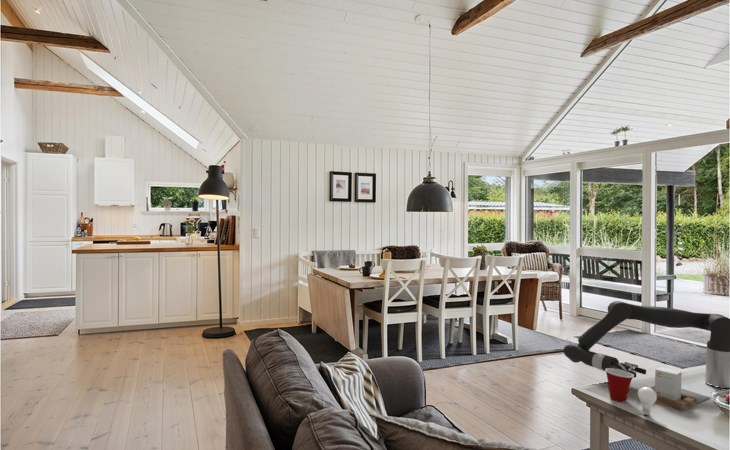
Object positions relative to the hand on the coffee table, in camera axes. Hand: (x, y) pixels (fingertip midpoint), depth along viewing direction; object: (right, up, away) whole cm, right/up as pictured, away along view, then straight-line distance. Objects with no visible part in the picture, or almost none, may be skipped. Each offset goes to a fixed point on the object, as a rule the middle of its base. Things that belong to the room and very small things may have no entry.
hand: (640, 373), depth 198 cm
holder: (+6, -8, -9) cm, 14 cm away
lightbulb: (-13, -8, -24) cm, 29 cm away
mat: (+18, -9, -3) cm, 21 cm away
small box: (+6, -9, -9) cm, 14 cm away
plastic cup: (-16, -8, -9) cm, 20 cm away
